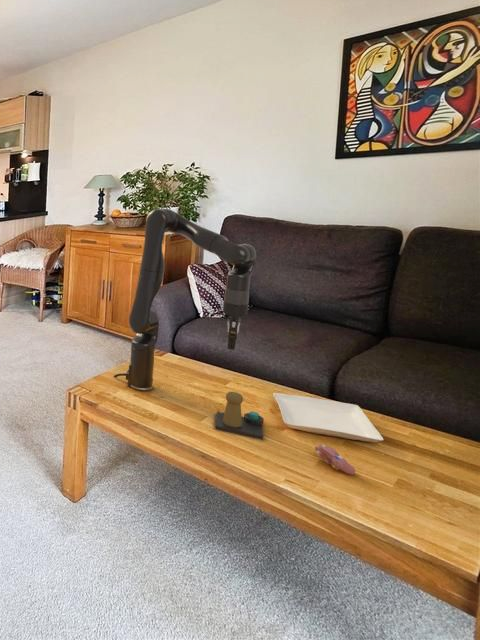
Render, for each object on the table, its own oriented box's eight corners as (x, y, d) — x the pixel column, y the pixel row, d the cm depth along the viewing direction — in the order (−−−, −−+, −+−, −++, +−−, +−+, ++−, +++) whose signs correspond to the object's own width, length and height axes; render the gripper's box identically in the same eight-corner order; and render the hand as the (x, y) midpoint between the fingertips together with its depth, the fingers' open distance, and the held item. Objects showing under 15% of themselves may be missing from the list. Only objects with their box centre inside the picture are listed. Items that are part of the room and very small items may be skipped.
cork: (237, 419, 169) (239, 390, 168) (245, 427, 163) (248, 397, 162) (219, 418, 170) (222, 389, 168) (226, 426, 164) (229, 396, 162)
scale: (215, 429, 165) (216, 421, 165) (216, 413, 176) (217, 406, 176) (264, 440, 158) (264, 432, 158) (262, 423, 169) (263, 415, 169)
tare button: (248, 418, 167) (249, 414, 167) (248, 415, 170) (249, 410, 169) (258, 420, 166) (259, 416, 165) (258, 417, 168) (258, 412, 168)
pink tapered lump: (317, 461, 148) (309, 443, 147) (330, 455, 148) (322, 437, 147) (344, 481, 139) (336, 462, 138) (358, 474, 139) (350, 455, 138)
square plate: (356, 413, 176) (358, 403, 176) (383, 450, 152) (385, 439, 151) (271, 399, 188) (272, 390, 187) (283, 432, 163) (284, 421, 162)
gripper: (224, 295, 173) (220, 337, 176) (223, 304, 161) (218, 349, 164) (248, 298, 170) (243, 341, 172) (248, 307, 157) (243, 353, 160)
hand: (231, 345), depth 168 cm, fingers open, 8 cm apart
